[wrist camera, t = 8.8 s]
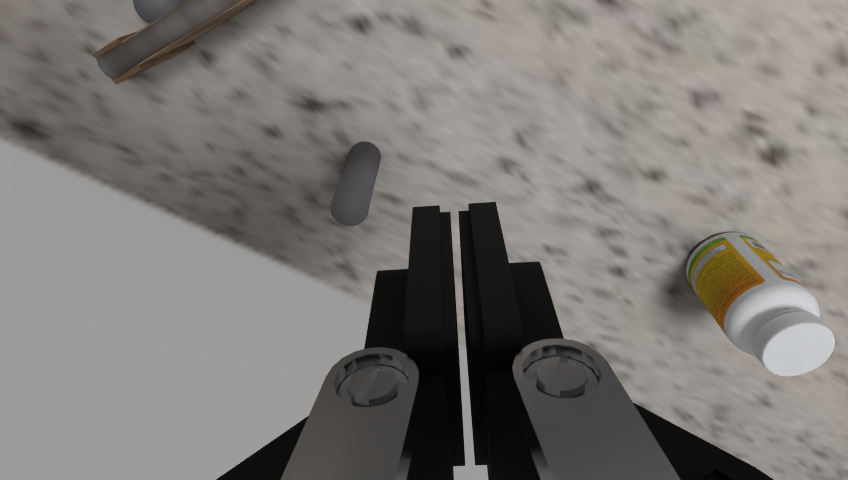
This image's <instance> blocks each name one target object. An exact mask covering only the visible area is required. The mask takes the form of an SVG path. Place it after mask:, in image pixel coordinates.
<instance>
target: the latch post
mask: <svg viewBox="0 0 848 480" xmlns="http://www.w3.org/2000/svg"><path fill="white" fill-rule="evenodd" d="M380 159H381V155H380V152H379V150H378V148H377V147H376V146H375V145H374V144H372V143H369V142H360V143H358V144H356V145H355V146H354V147H353V148H352V150H351V153H350V155H349V158H348V160H347V163H346V166H345V168H344V171H343V174H342V176H341V179H340V182H339V184H338V187H337V189H336V192H335V195H334V197H333V200H332V203H331V213H332V215H333V217H334V218H335V220H337V221H338V222H339V223H341V224H343V225H347V226H354V225H358V224H360V223H362V222H363V221H364V220H365V218H366V216H367V214H368V209H369V205H370V201H371V197H372V193H373V188H374V184H375V180H376V176H377V172H378V167H379V163H380Z"/></svg>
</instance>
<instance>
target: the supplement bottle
mask: <svg viewBox="0 0 848 480" xmlns="http://www.w3.org/2000/svg"><path fill="white" fill-rule="evenodd" d="M686 275H687V279H688V281H689V283H690V285H691V287H692V288H693V290H694V291H695V293H696V294H697V295H698V297H699V298H700V299H701V301H702V302H703V303H704V305H705V306H706V308H707V309H708V310H709V312H710V313H711V314H712V316H713V317H714V319H715V320H716V321H717V323H718V324H719V326H720V327H721V328H722V330H723V331H724V333H725V334H726V335H727V337H728V338H729V340H730V341H731V342H732V343H733V344H734V345H735V346H736V347H737V348H739V349H740V350H742V351H744V352H746V353H748V354H751V355H755V356H756V357H757V358H758V359H759V361H760V362H761V363H762V364H763V366H764V367H765V368H766V369H767V370H768V371H770V372H771V373H773V374H776V375H780V376H796V375H801V374H804V373H807V372H809V371H812V370H814V369H815V368H817V367H819V366H820V365H821V364H823V363H824V362H825V361H826V360H827V359H828V357H829V356H830V355H831V353H832V351H833V349H834V344H835V340H834V336H833V334H832V332H831V331H830V329H829V328H828V327H827V326H826V325H825V324H824V323H823V322H822V320H821V319H820V318H819V316H820V311H819V306H818V303H817V301H816V299H815V297H814V296H813V295H812V294H811V292H810V291H809V290H808V289H807V288H806V287H805V286H804V285H803V284H802V283H801V282H800V281H799V280H797V279H796V278H795V277H794V276H793V275H792V274H791V273H790V272H789V271H788V270H787V269H786V268H785V267H784V266H783V265H782V264H781V263H780V262H779V261H778V260H777V259H776V258H775V257H774V256H773V255H772V254H771V253H770V252H769V251H768V250H766V249H765V247H763V246H762V245H761V244H760V243H759V242H758V241H757V240H755V239H754V238H753V237H751V236H749V235H747V234H743V233H738V232H728V233H723V234H719V235H716V236H714V237H711V238H709V239H708V240H706V241H704V242H703V243H702V244H700V245H699V246H698V247H697V248H696V249H695V250H694V251H693V253H692V254H691V256H690V258H689V260H688V263H687V267H686Z"/></svg>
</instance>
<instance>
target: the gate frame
mask: <svg viewBox="0 0 848 480" xmlns="http://www.w3.org/2000/svg"><path fill="white" fill-rule="evenodd" d="M186 1H187V0H133V3H134V7H135V9H136V11H137V13H138V15H139V16H140V17H141V18H142V19H143V20H144V21H146V22H147V23H150V24H151V23H152V22H154V21H156V20H157V19H159V18H160V17H162V16H163V15H165V14H167V13H168V12H170V11H171V10H173V9H175V8H176V7H178V6H179V5H181V4H183V3H184V2H186Z"/></svg>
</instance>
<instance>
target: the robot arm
mask: <svg viewBox="0 0 848 480" xmlns="http://www.w3.org/2000/svg"><path fill="white" fill-rule="evenodd" d="M459 228H460V247H461V265H462V284H463V303H464V321H465V336H466V349H467V363H468V375H469V389H470V403H471V416H472V427H473V443H474V455H475V465H487V468H488V478H489V480H773V479H772V478H770V477H769V476H767V475H766V474H764V473H763V472H761V471H760V470H758V469H757V468H755V467H753V466H751V465H750V464H748V463H746V462H744V461H742V460H740V459H738V458H736V457H735V456H733V455H731V454H729V453H727V452H725V451H723V450H721V449H719V448H718V447H716V446H714V445H712V444H710V443H708V442H706V441H704V440H703V439H701V438H699V437H697V436H695V435H693V434H691V433H689V432H688V431H686V430H684V429H682V428H680V427H678V426H676V425H674V424H672V423H671V422H669V421H667V420H665V419H663V418H661V417H659V416H657V415H656V414H654V413H652V412H650V411H648V410H646V409H644V408H642V407H641V406H639V405H637V404H635V403H633V402H632V400H631V399H630V397H629V396H628V394H627V392H626V391H625V389H624V388H623V386H622V384H621V383H620V381H619V380H618V378H617V376H616V375H615V373H614V371H613V370H612V368H611V367H610V365H609V363H608V362H607V361H606V360H605V359H604V357H603V356H602V355H601V354H600V353H599V352H597V351H596V350H594V349H593V348H591V347H589V346H588V345H585V344H582V343H580V342H577V341H574V340H567V339H564V338H563V335H562V331H561V328H560V325H559V322H558V318H557V315H556V312H555V309H554V305H553V302H552V299H551V296H550V293H549V289H548V286H547V283H546V280H545V276H544V273H543V270H542V267H541V264H540V262H521V263H509V262H508V257H507V252H506V248H505V243H504V239H503V234H502V229H501V225H500V220H499V216H498V211H497V206H496V202H488V203H472V204H469V211H459ZM453 466H465V454H464V438H463V419H462V402H461V384H460V366H459V348H458V331H457V314H456V298H455V282H454V266H453V249H452V233H451V217H450V212H440V207H439V206H425V207H413V212H412V226H411V239H410V253H409V266H408V269H400V270H383V271H378V272H377V275H376V280H375V287H374V293H373V299H372V305H371V311H370V318H369V324H368V330H367V336H366V342H365V348H364V349H363V350H359V351H356V352H353V353H351V354H349V355H347V356H346V357H344V358H342V359H341V360H340V361H339V362H337V363H336V364H335V365H334V366H333V367H332V368H331V370H330V371H329V373H328V375H327V376H326V378H325V380H324V382H323V385H322V387H321V389H320V392H319V394H318V396H317V398H316V401H315V403H314V405H313V407H312V410H311V412H310V414H309V416H308V417H306V418H305V419H303V420H302V421H301V422H299V423H298V424H296V425H295V426H293V427H292V428H290V429H289V430H287V431H286V432H285V433H283V434H282V435H280V436H279V437H277V438H276V439H274V440H273V441H272V442H270V443H269V444H267V445H266V446H264V447H263V448H261V449H260V450H258V451H257V452H256V453H254V454H253V455H251V456H250V457H249V458H247V459H245V460H244V461H243V462H241V463H240V464H238V465H237V466H235V467H234V468H232V469H231V470H229V471H228V472H227V473H225V474H224V475H222V476H221V477H219V478H218V479H217V480H454V479H453V478H454V476H453Z"/></svg>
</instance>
